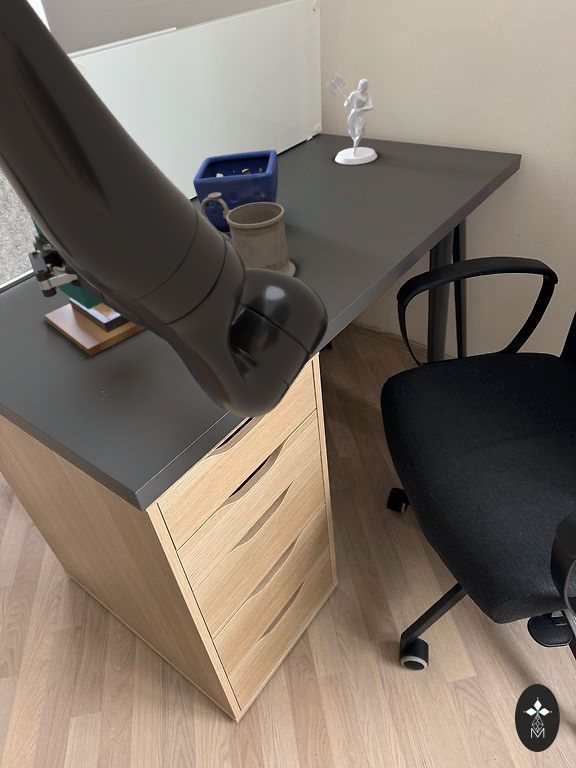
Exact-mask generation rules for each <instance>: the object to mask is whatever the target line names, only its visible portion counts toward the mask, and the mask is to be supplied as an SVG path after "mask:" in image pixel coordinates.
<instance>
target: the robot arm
mask: <svg viewBox="0 0 576 768" xmlns="http://www.w3.org/2000/svg"><path fill="white" fill-rule="evenodd" d="M0 171H1V172H2V173H3V175H4V177H5V178H6V179H7V181H8V183H9V184H10V186H11V187H12V189H13V191H14V192H15V194H16V195H17V197H18V199H19V200H20V201H21V203H22V205H23V206H24V208H25V209H26V210H27V212H28V214H29V215H30V218H31V217H32V218H33V220H34V221H35V223H36V224H37V225H38V227H39V228H40V230H41V231H42V232H43V234H44V235H45V236H46V237H45V236H43V235H42V234H40V235H38V234H37V235H35V236H34V241H32V245H33V247H34V249H35V250H32V251H31V252H29V253H28V255H27V256H28V258H29V261H30V264H31V268H32V271H33V274H34V276H35V278H36V281H37V283H38V285H39V288H40V290H41V293H42V295H43V297H44V298H52V297H54V296H56V295H57V293H58V291H57V289H60V288H59V287H60V285H63V284H67V283H70V284H72V285H73V286H76V287H84V288H85V289H86V290H87V291H88V292H89V293H90V294H91V295H92V296H93V297H95V298H96V299H97V300H99V301H100V302H102V303H103V304H105V305H106V306H108V307H109V308H111V309H112V310H114V311H115V312H117V313H118V314H120V315H122V316H123V317H125V318H126V319H128V320H129V321H131V322H132V323H134V324H136V325H138V326H141V327H143V328H145V329H146V330H148V331H150V332H151V333H153V334H154V335H156V336H157V337H158V338H160V339H162V340H164V341H165V342H166V343H168V344H169V346H170V347H171V348H172V350H174V352H175V353H176V354H177V355H178V357H179V358H180V360H181V361H182V363H183V364H184V366H185V367H186V369H187V371H188V372H189V374H190V375H191V376H192V378H193V379H194V381H195V382H196V384H197V385H198V386H199V387H200V388H201V390H202V391H203V392H204V393H205V395H206V396H207V397H208V398H209V399H210V400H211V401H212V402H213V403H214V404H215V405H216V406H218V407H219V408H220V409H222V410H224V411H225V412H227V413H229V414H231V415H234V416H237V417H240V418H246V419H247V418H251V419H252V418H259V417H263V416H265V415H267V414H270V413H271V412H273V411H274V410H275V409H276V408H277V407H278V405H280V403H281V402H282V401H283V399H284V398H285V396H286V395H287V393H288V391H290V389H291V387H292V386H293V384H294V382H296V380H297V378H298V377H299V375H300V373H301V372H302V371H303V369H304V368H305V366H306V364H307V363H308V362H309V360H311V356H313V355H314V353H315V351H316V350H317V348H318V347H319V346H320V344H321V343H322V341H323V339H324V338H325V335H326V334H327V331H328V325H329V317H328V315H329V314H328V312H327V308H326V306H325V304H324V301H323V300H322V298H321V297H320V295H319V294H318V293H317V292H316V291H315V290H314V289H313V288H312V287H311V286H310V285H308V283H306V282H304V281H303V280H301V279H299V278H297V277H295V276H294V275H293V276H291V275H288V274H286V273H282V272H279V271H275V270H270V269H262V268H245V265H244V262H243V260H242V258H241V256H240V254H239V253H238V252H237V250H236V249H235V247H234V246H233V245H232V244H231V243H230V242H229V241H228V240H227V239H226V238H225V237H224V236H223V235H222V234H221V233H220V232H219V231H218V230H217V228H216V227H215V226H214V225H213V224H212V223H211V222H210V221H209V219H208V218H206V217H207V216H206V217H205V216H204V215H203V214H202V213H201V210H199V209H198V207H197V206H196V205H195V204H194V203H193V202H192V201H191V200H190V199H189V198H188V197H187V196H186V195H185V194H184V193H183V191H182V190H180V188H178V186H176V185H175V183H174V182H173V181H172V180H171V179H170V178H169V177H168V176H167V175H166V173H164V172H163V170H161V169H160V167H159V166H158V165H157V164H156V163H155V162H154V161H153V160H152V159H151V157H150V156H149V155H148V154H147V153H146V152H145V151H144V150H143V148H142V147H141V146H140V145H139V144H138V143H137V141H135V140H134V138H133V137H132V136H131V135H130V134H129V132H128V131H127V130H126V129H125V127H123V125H122V123H120V121H119V120H118V118H117V117H116V116H115V115H114V114H113V111H111V109H109V108H108V106H107V105H106V104H105V102H104V101H103V100H102V98H101V97H100V96H99V94H98V93H97V92H96V90H95V89H94V88H93V87H92V86H91V84H90V83H89V82H88V80H87V79H86V78H85V76H84V75H83V73H82V72H81V71H80V69H79V68H78V67H77V65H76V64H75V63H74V62H73V60H72V59H71V58H70V56H69V55H68V53H67V52H66V51H65V50H64V48H63V47H62V46H61V44H60V43H59V42H58V40H57V39H56V37H55V36H54V35H53V33H52V32H51V31H50V29H49V28H48V27H47V25H46V24H45V23H44V21H43V20H42V18H41V17H40V16H39V14H38V13H37V11H36V10H35V9H34V7H33V6H32V4H31V3H30V2H29V1H28V0H0ZM32 218H31V219H32ZM33 220H32V221H33Z"/></svg>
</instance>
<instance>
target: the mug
mask: <svg viewBox="0 0 576 768" xmlns="http://www.w3.org/2000/svg"><path fill="white" fill-rule="evenodd" d="M220 195H221V193H218V192H217V193H211V194H209V195H208V198H206V199H204V200H203V202H202V204H200V212H201V213H202V214H203V215H204V216H205V217H206V218H207V216H206V215H205V209H204V207H205V204H206V202H208V201H210V200H216V201H219V202H220V203H221V204H222V206H223V207H224V210H225V211H223V216H224V218H226V219H227V223H228V224H229V227H230V232H231V238H230V237H229V236H227V235H226V234H224V233H222V232H220V231H219V232H220V233H221V234H222V235H223V236H224V237H225V238H226V239H227V240H228V241H229V242H230V243H231V244H232V245H233V246H234V247H235V249H236V250H237V252H238V253H239V254H240V256H241V258H242V260H243V262H244V265H245V268H262V269H270V270H275V271H279V272H282V273H286V274H288V275H291V276H293V277H294V276H295V273H296V271H297V270H296V269H297V268H296V266H295V263H293V262H292V261H291V259H290V257H289V252H288V246H287V236H286V226H285V219H284V215H285V209H284V207H283V206H282V205H281V204H279V203H270V202H256V203H250V204H246V205H242V206H239V207H237V208H235V209H233V210H228V207H227V205H226V203H225V202H224V201H223V200H222V199H221V198H219V197H218V196H220ZM207 219H208V218H207Z"/></svg>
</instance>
